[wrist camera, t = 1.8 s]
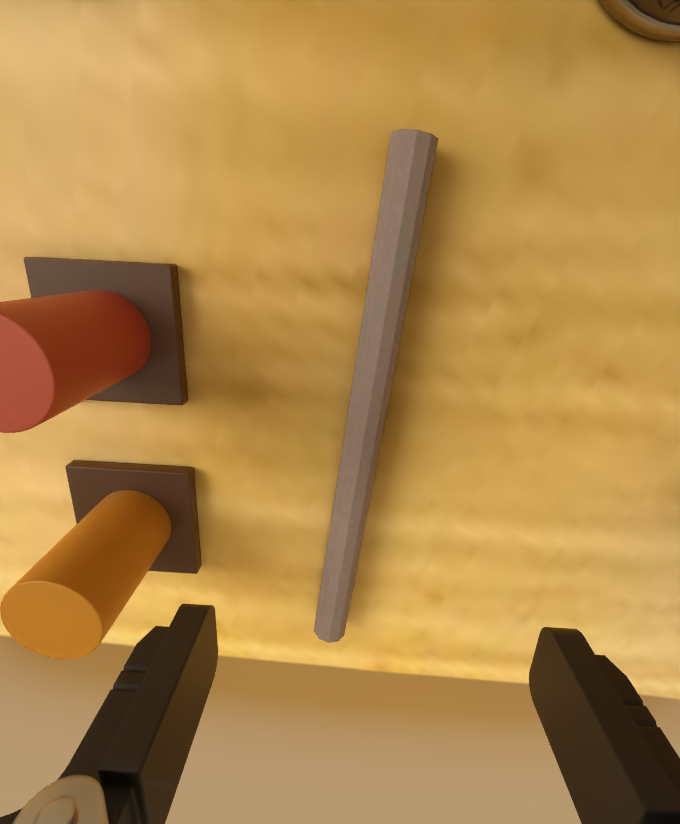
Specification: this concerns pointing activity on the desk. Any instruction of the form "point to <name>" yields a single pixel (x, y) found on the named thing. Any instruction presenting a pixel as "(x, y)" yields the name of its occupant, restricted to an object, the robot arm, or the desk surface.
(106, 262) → the red peg stand
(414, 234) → the metal rod
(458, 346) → the desk surface
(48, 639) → the ochre post
